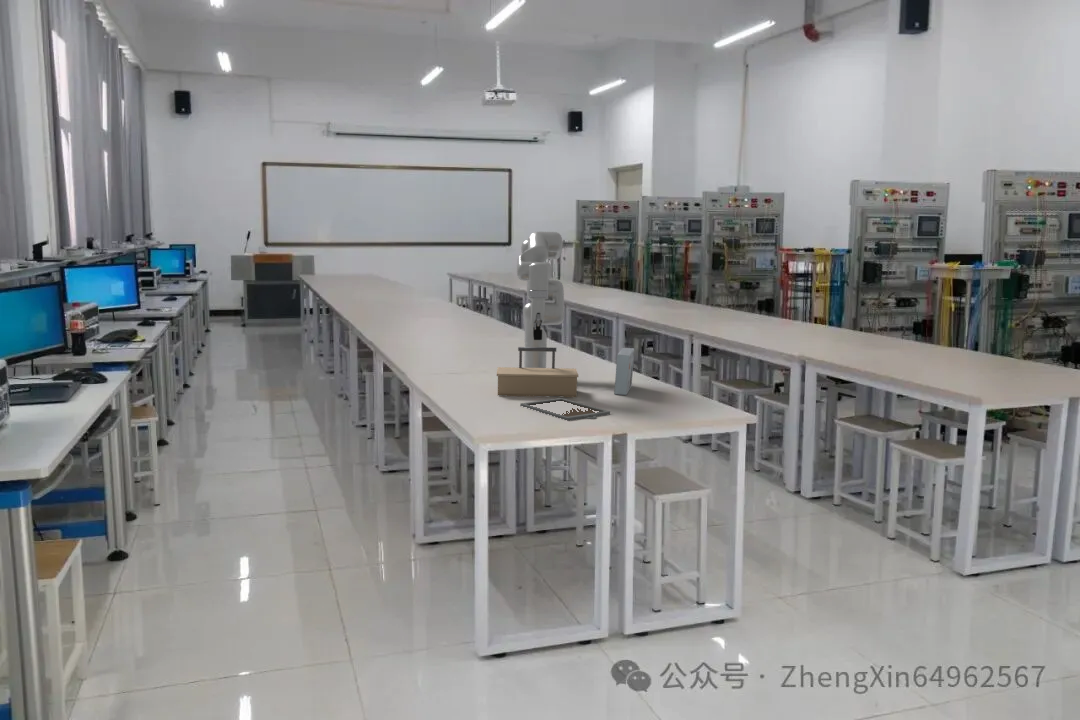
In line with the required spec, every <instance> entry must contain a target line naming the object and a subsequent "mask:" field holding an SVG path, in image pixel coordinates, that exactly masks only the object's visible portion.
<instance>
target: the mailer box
mask: <svg viewBox="0 0 1080 720" xmlns="http://www.w3.org/2000/svg"><path fill="white" fill-rule="evenodd" d="M577 391H578V377H530V376H497V396H498V395H507V396H506V397H534V396H564V397H563V398H577V395H578V393H577Z"/></svg>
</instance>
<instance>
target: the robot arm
mask: <svg viewBox="0 0 1080 720" xmlns="http://www.w3.org/2000/svg"><path fill="white" fill-rule="evenodd" d="M563 241H564V240H563V237H562V235H561V234H560V233H559V232H557V231H535V232H532V233H530V234H529V236H528V239H525V240H523V242H522V243H521V246H520V247H521V248H520V249H521V253H520V254H519V256H518V258H517V263H516V276H517V278H518V280H521V281H523V282H524V281H526V296H527V299H528V300H529V301H531V302H527V303H526V304H525V305H524V307H523V309H522V310H523V311H522V315H523V323H524V324H523V325H524V347H547V348H548V346H547V345H548V344H547V343H548V340H547V339H548V336H547V332H546V331H545V329H544V328H543V326H544V325H545V326H546V325H548V326H552V325H554V326H559V325H562V324H563V322H564V319H565V290H564V285H563V282H561V281H560V280H559V279H558V280H556V279H552V277H553V275H554V268H553V266H552V265H551V263H549V262H547V260H558V259H559V258H561V256H562V252H563V247H564V243H563ZM523 352H524V357H523V358H524V360H523V362H524V363H523V368H547V352H544V351H523Z"/></svg>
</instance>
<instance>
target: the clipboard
mask: <svg viewBox="0 0 1080 720" xmlns="http://www.w3.org/2000/svg"><path fill="white" fill-rule="evenodd" d="M556 401H564V402H567V403H571V404H573V405H577V406H580V407H584V408H588V411H586V410H585V412H583V411H581V409H580V410H579V409H578V408H577V410H578V411H579V412H577V411H576V410H575V409H573V408H572V410H573V412H572V410H570V413H569V412H568V411H566V414H564V413H563V414H564V415H563V414H562V415H560V414H556V413H553V412H550V411H547V410H543V409H540V408H537V407H533V406H530V405H536V404H543V403H550V402H556ZM519 406H520V407H521V406H523V407H522V408H524V407H527V408H526V409H528V408H530V409H529V410H531V409H533V410H532V411H534V410H536V411H535V412H537V411H539V412H538V413H541V412H542V414H544V413H545V414H544V415H547V414H549V415H548V416H550V415H552V416H551V417H554V416H555V417H554V418H557V417H558V418H557V419H560V418H561V420H563V419H564V421H566V420H567V422H569V421H570V420H571V421H575V420H576V419H577V420H582V419H583V420H584V419H585V420H596V419H597V418H598V417H601V415H603V416H607V414H609V415H611V411H610V410H607V409H602V408H599V407H596V406H592V405H588V404H584V403H581V402H577V401H575V400H571V399H567V398H565V397H556V398H551V399H550V398H549V399H545V400H536V401H528V402H522V403H521V402H520V405H519ZM590 409H591V410H590ZM592 410H594V411H599V412H597V413H595V412H593V411H592ZM567 412H568V413H569V414H568V413H567ZM577 420H576V421H577Z"/></svg>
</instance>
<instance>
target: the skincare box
mask: <svg viewBox="0 0 1080 720" xmlns="http://www.w3.org/2000/svg"><path fill="white" fill-rule="evenodd" d="M634 360H635V348H633V347H631V348H630V347H622V348H621V349H620V350H619V352H618V353H617V354H616V364H615V365H616V366H615V367H616V368H615V380H614V381H615V382H614V390H613V394H614V395H622V396H627V394H628V393H629V391H630V390H631V388H632V386H633V373H634Z"/></svg>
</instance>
